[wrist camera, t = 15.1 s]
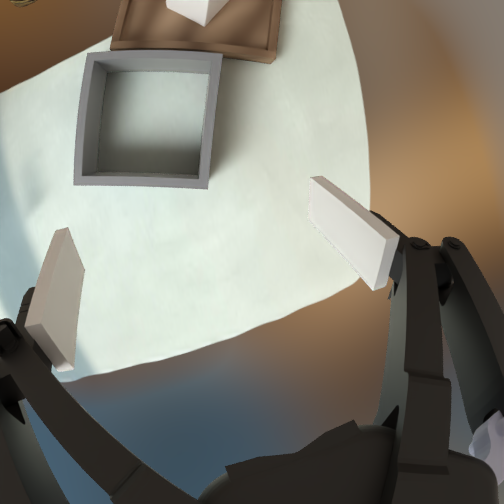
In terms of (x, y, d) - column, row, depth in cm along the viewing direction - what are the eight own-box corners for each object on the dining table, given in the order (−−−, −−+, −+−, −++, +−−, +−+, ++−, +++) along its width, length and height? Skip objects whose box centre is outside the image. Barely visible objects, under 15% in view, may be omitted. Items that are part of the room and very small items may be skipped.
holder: (89, 179, 34) (73, 185, 29) (101, 65, 30) (87, 53, 24) (205, 183, 38) (207, 189, 32) (218, 67, 33) (223, 53, 27)
